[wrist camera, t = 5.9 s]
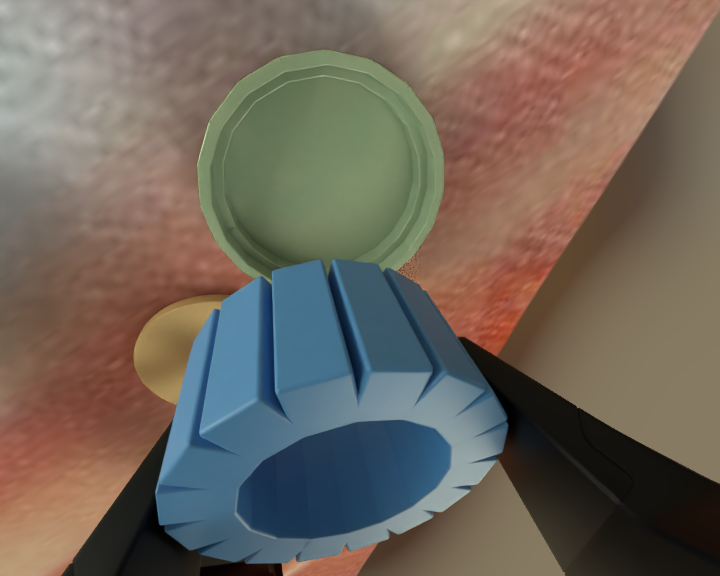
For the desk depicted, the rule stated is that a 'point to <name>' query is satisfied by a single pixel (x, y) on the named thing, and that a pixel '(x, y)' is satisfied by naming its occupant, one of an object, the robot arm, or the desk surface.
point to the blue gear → (323, 418)
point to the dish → (320, 165)
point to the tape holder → (171, 343)
